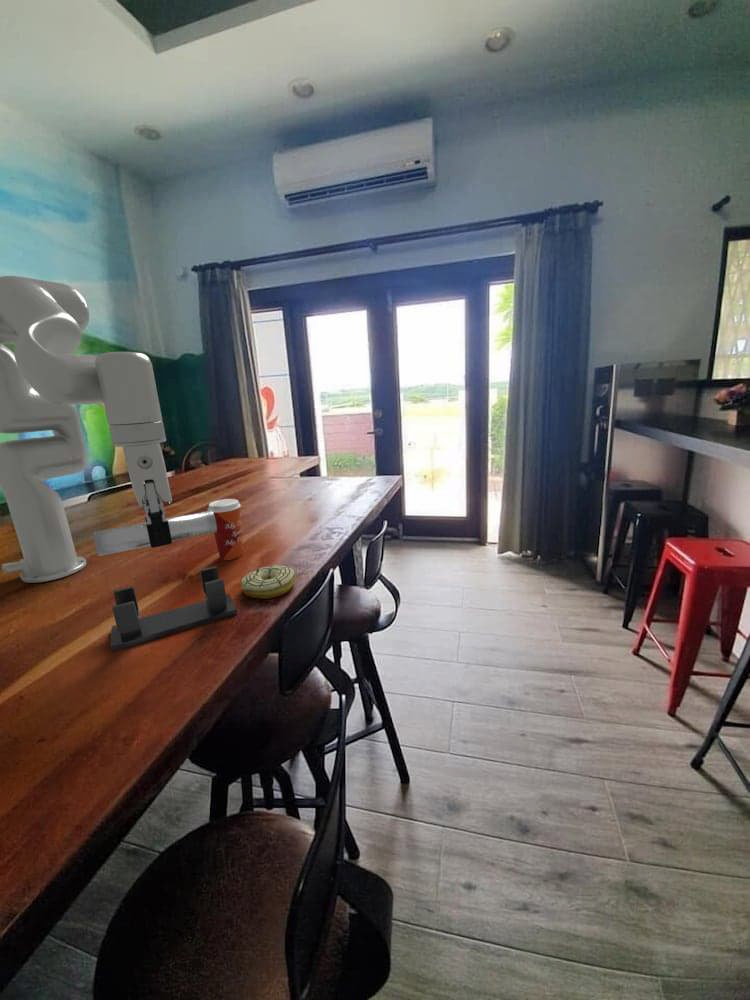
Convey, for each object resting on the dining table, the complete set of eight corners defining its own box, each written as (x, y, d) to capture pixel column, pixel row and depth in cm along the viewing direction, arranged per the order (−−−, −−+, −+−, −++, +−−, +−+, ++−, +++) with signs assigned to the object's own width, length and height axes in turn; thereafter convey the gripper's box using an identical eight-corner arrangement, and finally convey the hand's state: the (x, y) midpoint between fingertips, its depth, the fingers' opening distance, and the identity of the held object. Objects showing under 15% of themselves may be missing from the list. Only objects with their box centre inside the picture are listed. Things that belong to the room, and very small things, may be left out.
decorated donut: (253, 578, 90) (251, 562, 89) (301, 577, 89) (299, 561, 88) (235, 602, 80) (232, 585, 79) (288, 601, 79) (286, 584, 78)
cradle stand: (111, 652, 66) (101, 611, 64) (113, 631, 72) (103, 593, 70) (237, 614, 75) (231, 577, 73) (229, 598, 81) (224, 564, 79)
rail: (98, 559, 64) (92, 535, 63) (100, 551, 67) (94, 529, 66) (217, 534, 73) (214, 513, 72) (214, 529, 76) (210, 508, 75)
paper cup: (237, 562, 98) (229, 507, 94) (209, 561, 100) (199, 506, 96) (253, 550, 105) (246, 498, 102) (226, 548, 107) (218, 497, 103)
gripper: (169, 435, 60) (190, 551, 65) (161, 428, 74) (179, 524, 79) (109, 441, 56) (137, 563, 61) (112, 433, 70) (135, 532, 75)
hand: (160, 540), depth 70 cm, fingers closed on rail, 4 cm apart
